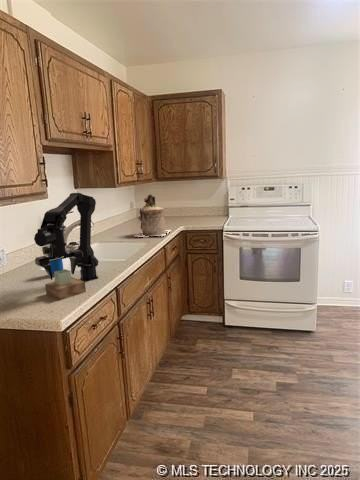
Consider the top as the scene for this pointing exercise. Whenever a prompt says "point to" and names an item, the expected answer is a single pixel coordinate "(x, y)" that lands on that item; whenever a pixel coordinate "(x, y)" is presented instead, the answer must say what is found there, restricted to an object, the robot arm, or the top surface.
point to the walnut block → (65, 289)
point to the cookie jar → (151, 219)
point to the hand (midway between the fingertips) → (62, 277)
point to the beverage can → (56, 265)
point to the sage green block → (62, 277)
